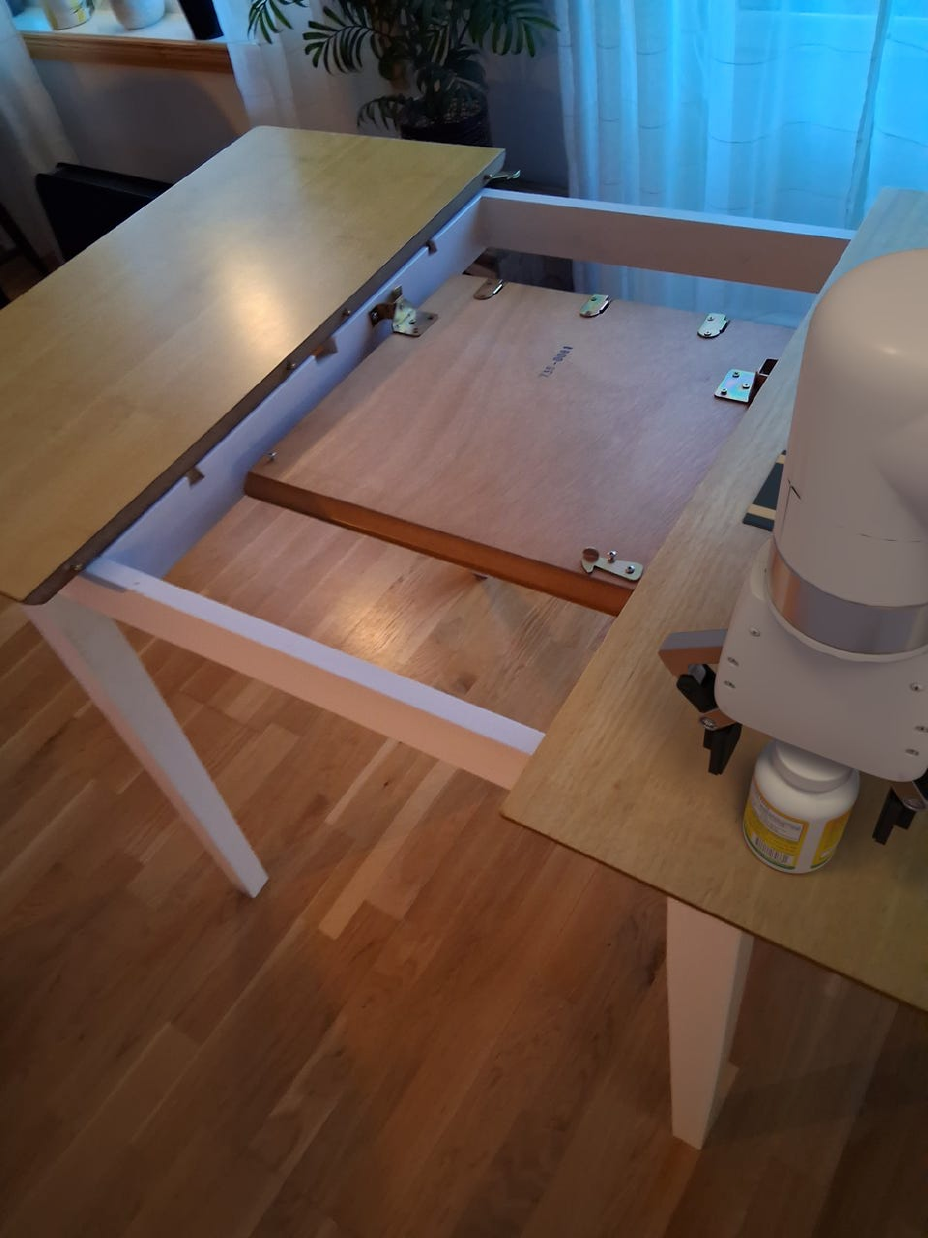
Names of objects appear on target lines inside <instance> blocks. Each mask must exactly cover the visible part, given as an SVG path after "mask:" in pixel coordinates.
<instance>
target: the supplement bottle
mask: <svg viewBox="0 0 928 1238" xmlns="http://www.w3.org/2000/svg"><path fill="white" fill-rule="evenodd" d="M859 771H860V770H857V769H855V768H852V767H849V766H847V765H844V764H841V763H839V762H836V761H833V760H831V759H828V758H826V757H823V756H820V755H818V754H815V753H813V752H810V751H807V750H805V749H802V748H800V747H797V746H795V745H792V744H789V743H787V742H784V741H782V740H779V739H777V738H774V737H773V739H771V740H769V741H768V742H767V744H766V745H764V746H763V747H762V749H761V750H760V752H759V753H758V756H757V758H756V761H755V764H754V769H753V774H752V777H751V778H752V779H751V783H750V788H749V793H748V798H747V802H746V805H745V810H744V815H743V821H742V828H743V829H742V830H743V835H744V838H745V841H746V844H747V845H748V847H749V849H750V850H751V852H752V853H753V854H754V856H756V858H757V859H759V861H761V862H762V863H764V864H765V865H766V866H769V867H770V868H771V869H774V870H777V871H780V872H783V873H788V874H806V873H811V872H814V871H817V870H818V869H820V868H821V867H823V866H824V865H826V863H828V862H829V861H830V859H831V858H832V857H833V856H834V854H835V852H836V850H837V849H838V845H839V843H840V840H841V838H842V836H843V833H844V831H845V828H846V826H847V824H848V821H849V817H850V815H851V814H852V811H853V808H854V806H855V804H856V801H857V799H858V796H859V793H860V790H861V789H860V788H861V776H860V772H859Z"/></svg>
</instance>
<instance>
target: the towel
mask: <svg viewBox="0 0 928 1238" xmlns="http://www.w3.org/2000/svg"><path fill="white" fill-rule="evenodd" d="M786 450H787V449H783V450H782V452H781V453H780V454H779V455H778V457H777V459H776V461H775V464H774V465H773V467H772V469H771V471H770V473H769V474H768V476H767V478H766V479H765V481H764V483H763V484H762V486H761V488H760V490H759V491H758V493H757V495H756V497H755V498H754V500H753V501H752V503H751V504H750V506H749V508H748V510H746V511H747V512H746V514H745V516H744V517H743V519H742V523H743V524H744V525H749V526H752V527H756V528H759V529H762V530H765V531H770V532H772V531H773V526H774V522H775V515H776V509H777V503H778V497H779V491H780V485H781V479H782V473H783V468H784V462H785V456H786Z"/></svg>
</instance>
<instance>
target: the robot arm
mask: <svg viewBox="0 0 928 1238" xmlns="http://www.w3.org/2000/svg"><path fill="white" fill-rule="evenodd" d="M803 345H804V347H803V350H802V356H801V361H800V362H801V363H800V368H799V373H798V374H799V375H798V380H797V384H796V385H797V386H796V391H795V398H794V403H793V409H792V415H791V421H790V427H789V433H788V439H787V445H786V449H785V450H786V456H785V462H784V468H783V473H782V479H781V485H780V491H779V497H778V503H777V509H776V515H775V522H774V526H773V531H771V536H770V537H768V538H767V539H766V540H765V541H764V542H762V544H761V545H760V547H759V549H758V551H757V552H756V555H755V557H754V558H753V560H752V563H751V564H750V567H749V569H748V571H747V575H746V578H745V579H744V582H743V585H742V588H741V589H740V592H739V595H738V598H737V600H736V602H735V606H734V609H733V612H732V614H731V618H730V621H729V625H728V628H720V629H705V630H690V631H679V632H678V631H677V632H669V633H668V634H667V635H666V636H665V639H664V640H663V642H662V644H661V645H660V648H658V651H657V655H658V657H659V658H660V660H661V662H662V663H663V664H664V666H665V667H666V669H667V670H668V671H669V673H670V675H671V676H672V677H673V676H674V677H675V678H676V683H675V687H676V689H677V690H678V691H679V692H680V693H681V694H682V695H683V696H684V698H685V699H687V701H688V702H689V703H690V704H691V705H693V707H694V708H695V709H696V710H697V711H698V712H699V714H698V716H697V719H696V720H697V722H698V724H699V725H700V726H701V727H703V728H704V734H703V742H702V748H704V749H706V750H708V751H710V755H709V760H708V761H709V762H708V770H707V771H708V772H707V773H709V774H712V775H714V776H719V775H723V773H724V771H725V769H726V767H727V765H728V763H729V761H730V759H731V757H732V755H733V753H734V751H735V750H736V749H735V748H736V747H737V744H738V743H739V741H740V739H741V735H742V729H743V726H745V727H747V728H750V729H751V730H755V731H757V732H759V733H761V734H764V735H767V736H770V737H772V738H773V739H774V738H777V739H779V740H782V741H784V742H787V743H789V744H792V745H795V746H797V747H800V748H802V749H805V750H807V751H810V752H813V753H815V754H818V755H820V756H823V757H826V758H828V759H831V760H833V761H836V762H839V763H841V764H844V765H847V766H849V767H852V768H855V769H857V770H858V771H861V772H863V773H865V774H868V775H871V776H873V777H877V778H881V779H884V780H886V781H887V782H888V784H889V785H890V786H889V789H888V792H887V794H886V797H885V800H884V802H883V805H882V808H881V811H880V814H879V816H878V818H877V821H876V824H875V826H874V830H873V832H872V835H871V838H872V839H874V842H875V843H878V844H879V845H882V846H886V844H887V842H888V840H889V837H890V836H891V833H892V831H893V829H894V826H895V827H899V828H901V829H903V830H906V831H908V830H909V829H910V826H911V824H912V823H913V820H914V818H915V817H916V814H917V813H921V812H926V811H927V810H928V247H919V248H918V247H917V248H911V249H904V250H897V251H893V252H889V253H885V254H882V255H879V256H876V257H873V258H871V259H868V260H866V261H864V262H862V263H860V264H858V265H856V266H854V267H852V268H851V269H849V270H847V271H846V272H845V273H843V274H842V275H841V276H840V277H838V278H837V279H836V280H835V281H834V282H833V283H832V284H831V285H830V286H829V287H828V288H827V289H826V290H825V292H824V293H823V295H822V296H821V298H820V300H819V301H818V303H817V304H816V306H815V308H814V310H813V313H812V315H811V317H810V319H809V323H808V327H807V331H806V335H805V340H804V344H803ZM713 664H715V665H716V664H717V665H718V666H717V670H716V672H715V671H714V669H712V668H711V666H710V665H713Z"/></svg>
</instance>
